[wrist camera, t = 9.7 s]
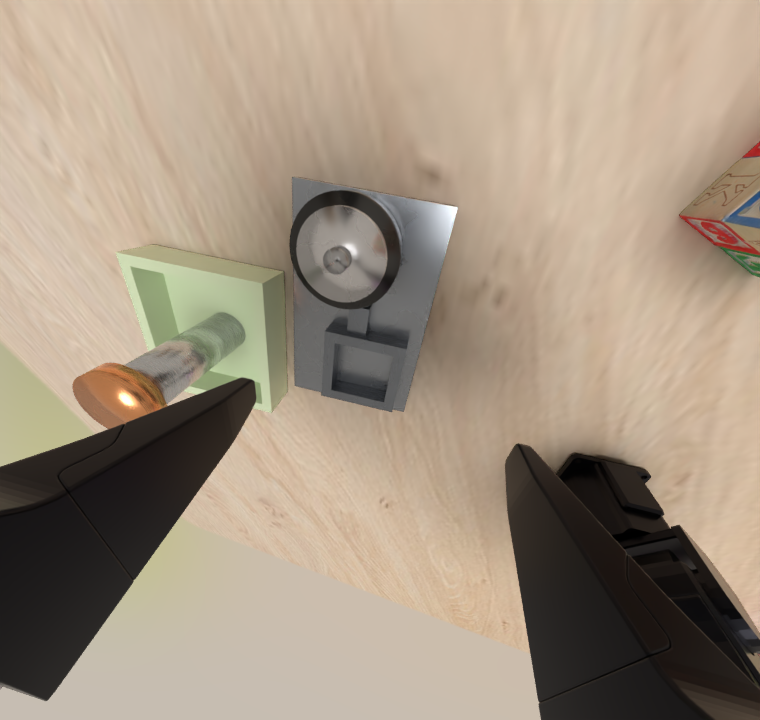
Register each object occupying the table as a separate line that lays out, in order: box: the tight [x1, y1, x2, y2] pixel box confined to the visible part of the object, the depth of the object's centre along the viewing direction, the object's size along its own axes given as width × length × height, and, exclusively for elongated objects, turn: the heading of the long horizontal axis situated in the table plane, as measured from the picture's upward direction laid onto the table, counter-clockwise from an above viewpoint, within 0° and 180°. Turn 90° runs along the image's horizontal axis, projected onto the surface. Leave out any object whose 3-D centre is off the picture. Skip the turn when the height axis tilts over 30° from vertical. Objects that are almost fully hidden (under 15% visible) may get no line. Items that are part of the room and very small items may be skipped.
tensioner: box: [290, 177, 458, 412], centre depth 20 cm, size 16×10×4 cm, turn 171°
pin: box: [73, 312, 246, 429], centre depth 20 cm, size 4×4×10 cm
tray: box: [116, 244, 287, 413], centre depth 24 cm, size 12×11×3 cm
